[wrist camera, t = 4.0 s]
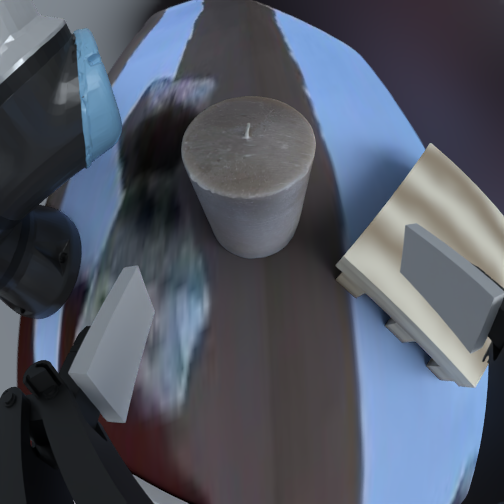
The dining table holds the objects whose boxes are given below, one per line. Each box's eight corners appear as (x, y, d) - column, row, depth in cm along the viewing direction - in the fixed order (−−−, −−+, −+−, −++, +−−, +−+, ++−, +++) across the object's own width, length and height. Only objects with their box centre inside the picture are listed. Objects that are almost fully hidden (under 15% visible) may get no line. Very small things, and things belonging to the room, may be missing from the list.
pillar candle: (242, 169, 34) (229, 70, 20) (313, 207, 32) (342, 113, 18) (194, 232, 32) (145, 149, 17) (268, 278, 30) (271, 216, 15)
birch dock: (444, 384, 25) (475, 387, 19) (328, 273, 29) (343, 256, 24) (503, 263, 29) (529, 250, 23) (412, 168, 34) (430, 142, 28)
